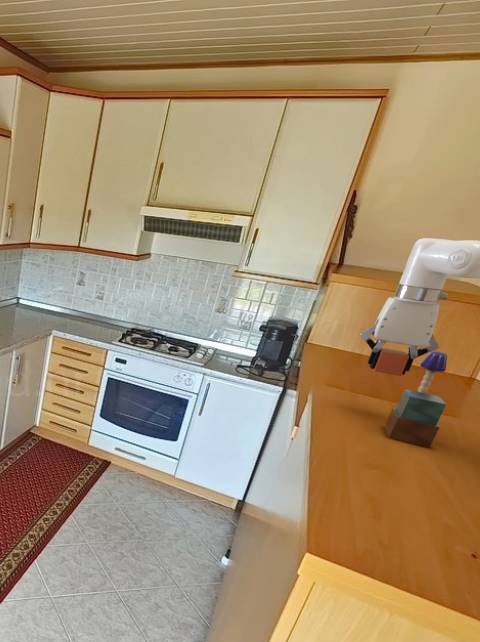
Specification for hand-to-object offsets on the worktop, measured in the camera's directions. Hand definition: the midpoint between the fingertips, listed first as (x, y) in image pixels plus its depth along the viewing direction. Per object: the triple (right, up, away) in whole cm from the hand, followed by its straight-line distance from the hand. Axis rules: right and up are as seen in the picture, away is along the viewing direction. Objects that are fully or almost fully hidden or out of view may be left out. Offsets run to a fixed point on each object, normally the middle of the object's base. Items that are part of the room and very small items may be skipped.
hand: (386, 369), depth 117 cm
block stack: (-3, -15, -8) cm, 18 cm away
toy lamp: (+11, -12, +6) cm, 17 cm away
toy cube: (0, 0, 0) cm, 0 cm away
